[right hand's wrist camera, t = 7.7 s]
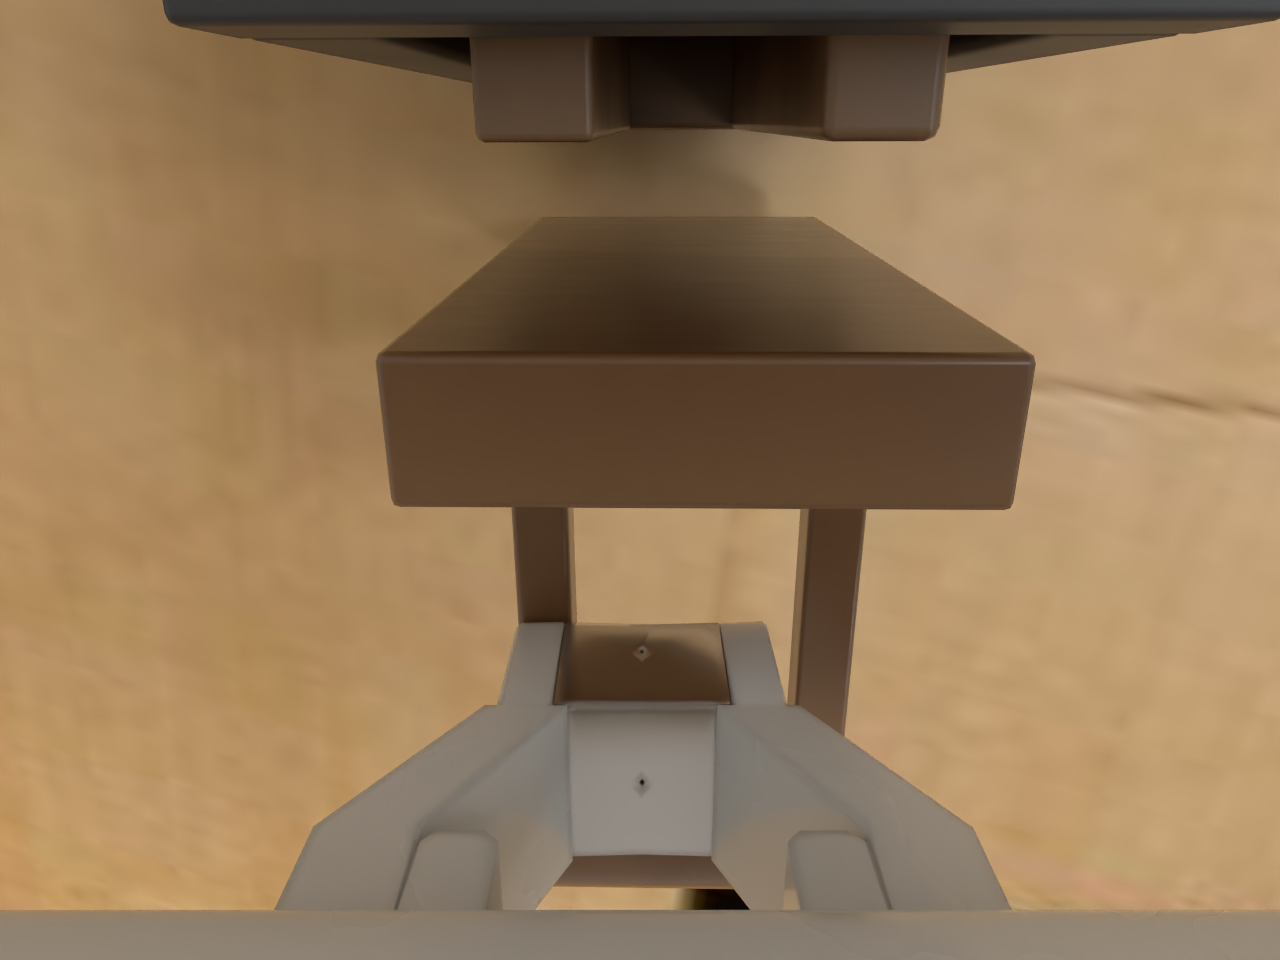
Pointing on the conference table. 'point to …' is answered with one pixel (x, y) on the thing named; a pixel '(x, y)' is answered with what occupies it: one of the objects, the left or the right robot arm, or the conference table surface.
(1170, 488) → the conference table surface
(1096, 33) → the cabinet
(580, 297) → the drawer
